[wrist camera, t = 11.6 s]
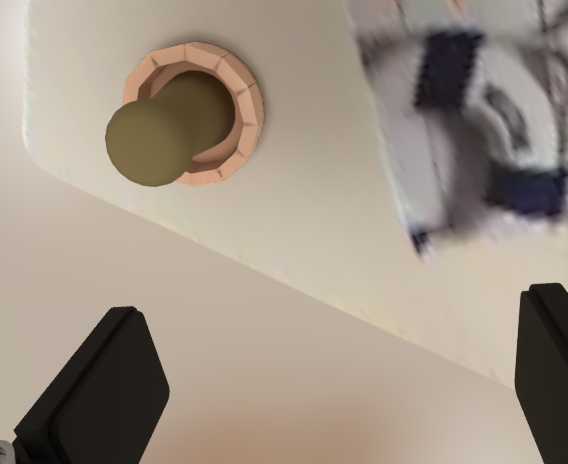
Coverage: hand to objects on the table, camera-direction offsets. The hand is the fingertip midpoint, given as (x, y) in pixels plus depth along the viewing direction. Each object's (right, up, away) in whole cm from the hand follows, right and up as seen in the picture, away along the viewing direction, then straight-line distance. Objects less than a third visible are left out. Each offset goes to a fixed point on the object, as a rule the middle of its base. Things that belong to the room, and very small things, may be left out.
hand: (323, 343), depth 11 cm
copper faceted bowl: (-7, +13, +25) cm, 29 cm away
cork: (-8, +12, +25) cm, 29 cm away
